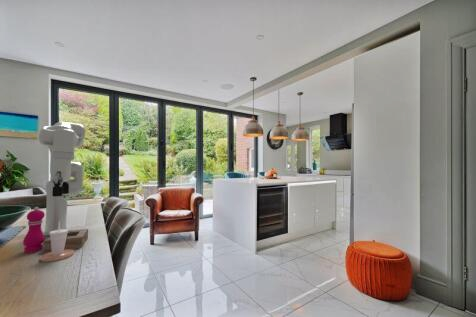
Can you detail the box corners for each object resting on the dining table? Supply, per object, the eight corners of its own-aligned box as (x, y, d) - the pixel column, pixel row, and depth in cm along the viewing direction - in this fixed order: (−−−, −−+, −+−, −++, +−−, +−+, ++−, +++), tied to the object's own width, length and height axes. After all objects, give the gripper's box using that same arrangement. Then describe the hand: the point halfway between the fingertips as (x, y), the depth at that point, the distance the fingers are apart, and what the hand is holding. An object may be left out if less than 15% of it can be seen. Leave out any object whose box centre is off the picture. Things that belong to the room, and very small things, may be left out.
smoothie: (45, 257, 86) (47, 223, 87) (50, 252, 92) (52, 220, 92) (65, 255, 89) (67, 222, 90) (68, 250, 94) (70, 218, 95)
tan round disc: (45, 254, 92) (45, 251, 92) (76, 249, 97) (76, 247, 97) (35, 263, 82) (35, 261, 83) (70, 258, 87) (70, 256, 87)
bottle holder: (55, 241, 108) (55, 231, 108) (87, 237, 114) (88, 228, 115) (43, 252, 94) (44, 241, 94) (81, 247, 100) (81, 237, 100)
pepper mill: (30, 254, 92) (33, 208, 93) (17, 252, 93) (21, 207, 95) (48, 248, 99) (50, 206, 100) (36, 246, 101) (39, 205, 102)
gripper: (58, 157, 99) (56, 193, 98) (45, 155, 84) (42, 197, 83) (78, 157, 102) (76, 192, 101) (68, 156, 87) (66, 197, 86)
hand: (60, 194), depth 92 cm, fingers open, 9 cm apart
